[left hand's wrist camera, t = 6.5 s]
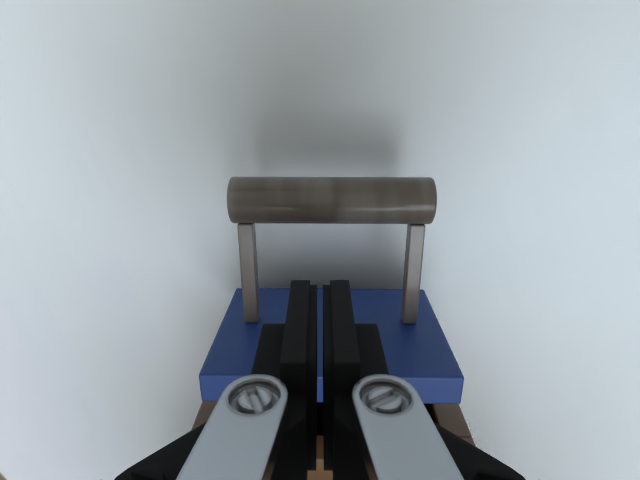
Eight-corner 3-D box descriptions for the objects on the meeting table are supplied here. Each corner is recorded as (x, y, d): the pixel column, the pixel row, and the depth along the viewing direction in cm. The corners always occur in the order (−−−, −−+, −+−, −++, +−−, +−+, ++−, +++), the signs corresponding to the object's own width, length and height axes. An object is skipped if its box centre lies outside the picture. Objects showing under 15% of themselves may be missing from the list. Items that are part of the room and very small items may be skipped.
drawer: (226, 163, 19) (176, 203, 13) (435, 163, 19) (490, 204, 13) (251, 486, 26) (227, 616, 20) (404, 488, 26) (430, 620, 19)
